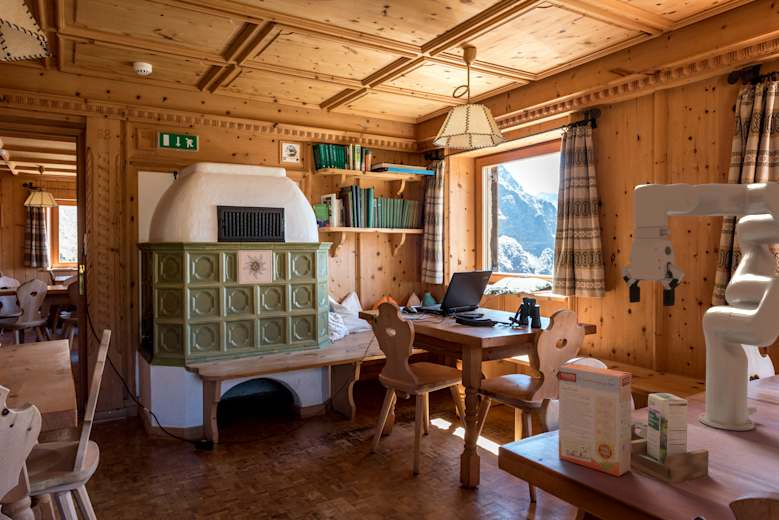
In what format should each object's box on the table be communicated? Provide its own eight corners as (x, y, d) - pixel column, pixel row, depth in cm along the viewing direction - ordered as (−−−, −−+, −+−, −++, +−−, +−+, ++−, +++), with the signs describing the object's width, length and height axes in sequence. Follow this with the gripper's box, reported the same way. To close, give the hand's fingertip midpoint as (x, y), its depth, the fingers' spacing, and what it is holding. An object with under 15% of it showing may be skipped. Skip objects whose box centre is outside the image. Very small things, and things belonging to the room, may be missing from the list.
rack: (630, 443, 132) (631, 422, 132) (708, 474, 113) (708, 450, 113) (595, 449, 127) (595, 428, 127) (670, 483, 109) (670, 458, 109)
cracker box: (632, 470, 116) (633, 372, 115) (618, 478, 112) (619, 376, 111) (571, 451, 126) (572, 361, 126) (557, 458, 122) (558, 365, 122)
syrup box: (645, 459, 119) (646, 393, 119) (670, 458, 120) (671, 392, 119) (662, 470, 113) (663, 400, 113) (688, 468, 114) (689, 399, 114)
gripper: (693, 233, 129) (694, 306, 129) (631, 235, 144) (632, 300, 145) (671, 234, 125) (672, 308, 126) (611, 235, 141) (612, 302, 142)
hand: (651, 304), depth 135 cm, fingers open, 9 cm apart
